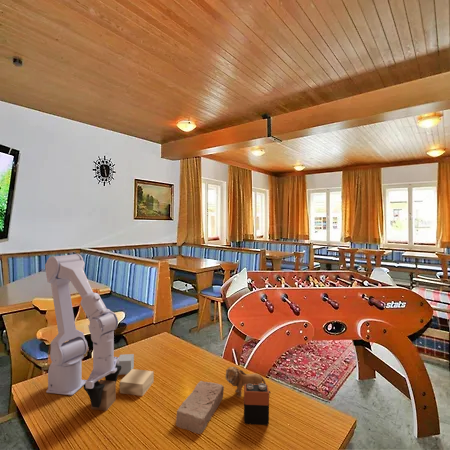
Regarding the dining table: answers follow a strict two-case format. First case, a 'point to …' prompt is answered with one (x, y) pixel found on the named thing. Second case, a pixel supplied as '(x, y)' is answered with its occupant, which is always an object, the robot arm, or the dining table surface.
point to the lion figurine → (242, 379)
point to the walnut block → (107, 395)
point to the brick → (199, 406)
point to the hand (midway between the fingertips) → (103, 398)
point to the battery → (256, 404)
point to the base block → (136, 382)
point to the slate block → (126, 363)
